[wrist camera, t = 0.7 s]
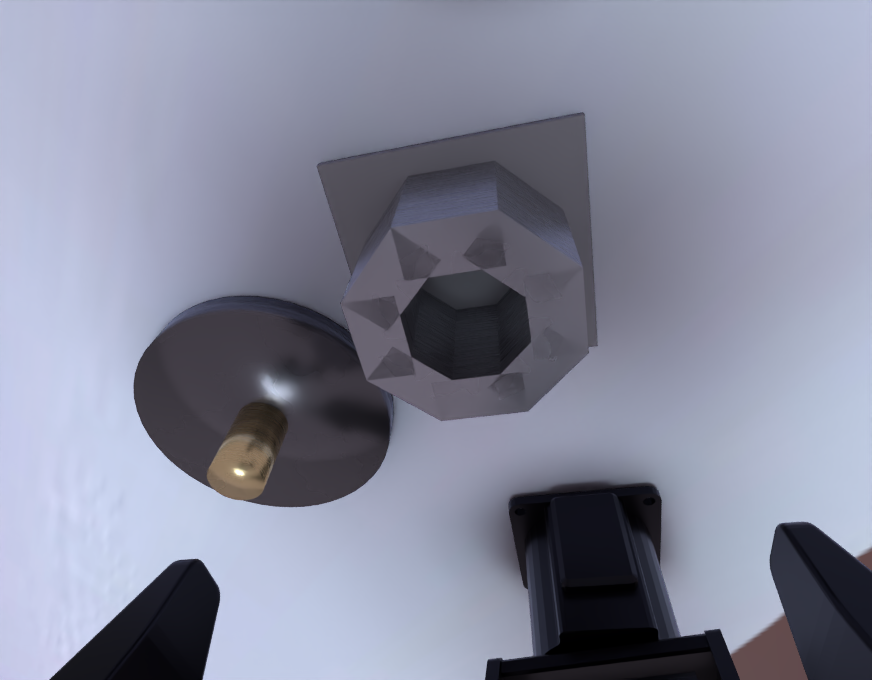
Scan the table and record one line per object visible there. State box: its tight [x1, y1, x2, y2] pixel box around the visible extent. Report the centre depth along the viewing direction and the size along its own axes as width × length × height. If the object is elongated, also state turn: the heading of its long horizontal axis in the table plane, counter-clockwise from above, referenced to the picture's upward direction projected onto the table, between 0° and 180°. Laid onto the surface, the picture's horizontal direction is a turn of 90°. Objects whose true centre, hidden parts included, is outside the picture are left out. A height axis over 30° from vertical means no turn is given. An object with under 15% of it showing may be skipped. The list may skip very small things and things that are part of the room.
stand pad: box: [317, 113, 597, 347], centre depth 19 cm, size 8×8×1 cm
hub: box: [134, 296, 394, 507], centre depth 21 cm, size 10×10×4 cm
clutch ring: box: [340, 160, 589, 421], centre depth 17 cm, size 6×6×4 cm
